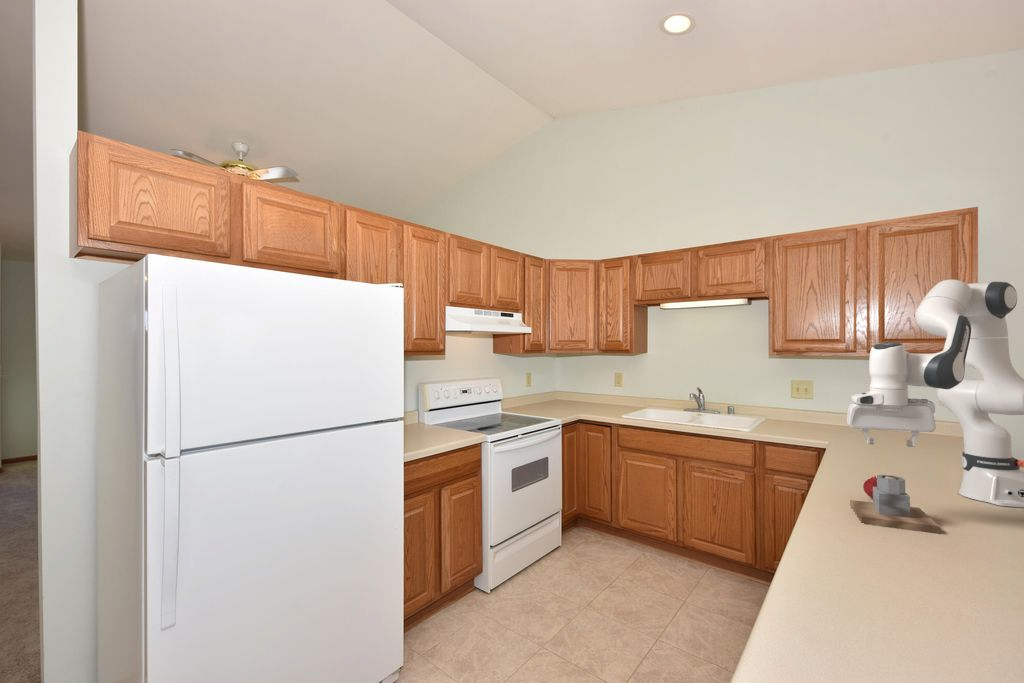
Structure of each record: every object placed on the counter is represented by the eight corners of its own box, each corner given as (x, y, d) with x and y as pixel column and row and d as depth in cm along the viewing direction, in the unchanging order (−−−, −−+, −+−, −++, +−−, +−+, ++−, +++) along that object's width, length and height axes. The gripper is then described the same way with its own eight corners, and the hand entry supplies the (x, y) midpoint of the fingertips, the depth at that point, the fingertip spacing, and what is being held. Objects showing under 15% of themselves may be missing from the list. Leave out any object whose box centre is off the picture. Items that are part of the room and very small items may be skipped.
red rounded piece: (889, 503, 149) (889, 478, 149) (869, 502, 150) (869, 477, 151) (879, 497, 155) (879, 473, 155) (859, 496, 156) (859, 472, 156)
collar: (900, 489, 137) (900, 476, 137) (907, 495, 132) (907, 481, 132) (875, 487, 140) (875, 474, 140) (880, 493, 134) (880, 479, 134)
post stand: (919, 514, 139) (918, 474, 139) (939, 533, 125) (938, 488, 125) (850, 506, 147) (849, 468, 147) (861, 523, 132) (860, 481, 132)
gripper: (930, 397, 134) (932, 445, 134) (844, 395, 143) (846, 440, 143) (938, 400, 129) (940, 450, 129) (849, 398, 138) (850, 444, 138)
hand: (890, 445), depth 136 cm, fingers open, 8 cm apart
